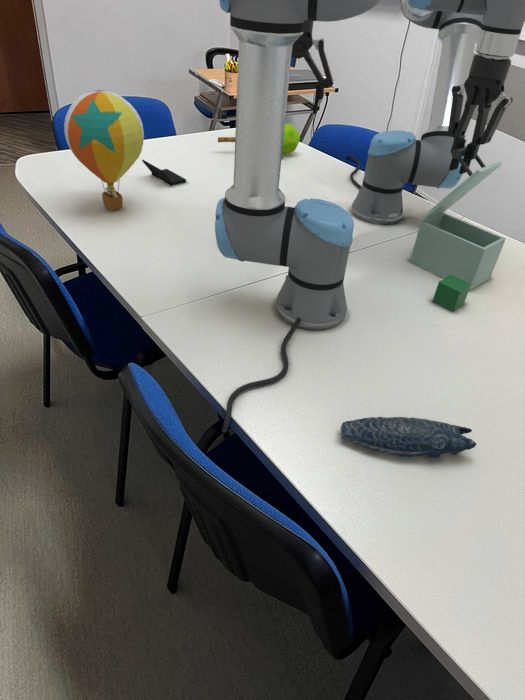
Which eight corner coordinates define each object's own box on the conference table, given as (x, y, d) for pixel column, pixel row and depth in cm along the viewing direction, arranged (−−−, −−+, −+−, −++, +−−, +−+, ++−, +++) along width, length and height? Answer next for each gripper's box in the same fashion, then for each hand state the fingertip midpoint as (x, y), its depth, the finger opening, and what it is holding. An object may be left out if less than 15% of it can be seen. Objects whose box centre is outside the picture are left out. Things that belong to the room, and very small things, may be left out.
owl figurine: (474, 470, 81) (484, 449, 78) (339, 453, 82) (344, 431, 79) (465, 439, 86) (475, 417, 83) (339, 423, 87) (344, 401, 84)
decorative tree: (215, 117, 188) (295, 117, 193) (215, 147, 195) (292, 146, 200) (221, 131, 174) (307, 131, 180) (221, 163, 181) (304, 161, 186)
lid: (502, 164, 117) (482, 136, 118) (479, 172, 112) (459, 142, 113) (444, 211, 132) (427, 186, 133) (422, 221, 127) (404, 194, 128)
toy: (64, 203, 145) (44, 85, 127) (127, 189, 156) (117, 79, 137) (97, 229, 134) (80, 105, 116) (162, 213, 145) (156, 96, 126)
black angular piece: (190, 175, 164) (173, 153, 156) (179, 193, 163) (161, 172, 155) (166, 170, 170) (147, 148, 162) (155, 188, 169) (136, 167, 161)
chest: (490, 278, 130) (506, 238, 123) (469, 290, 124) (484, 249, 118) (431, 250, 140) (443, 212, 133) (409, 261, 134) (420, 221, 127)
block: (464, 303, 120) (471, 283, 116) (452, 311, 117) (460, 291, 113) (443, 293, 123) (450, 274, 119) (432, 301, 119) (438, 281, 116)
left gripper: (351, 16, 123) (337, 111, 137) (248, 5, 125) (244, 100, 139) (351, 20, 118) (336, 118, 131) (243, 8, 119) (238, 107, 133)
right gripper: (536, 61, 104) (495, 177, 118) (469, 48, 112) (439, 158, 127) (519, 64, 100) (479, 184, 114) (451, 50, 108) (421, 164, 122)
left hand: (288, 109), depth 135 cm, fingers open, 13 cm apart
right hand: (458, 170), depth 120 cm, fingers closed on lid, 2 cm apart
